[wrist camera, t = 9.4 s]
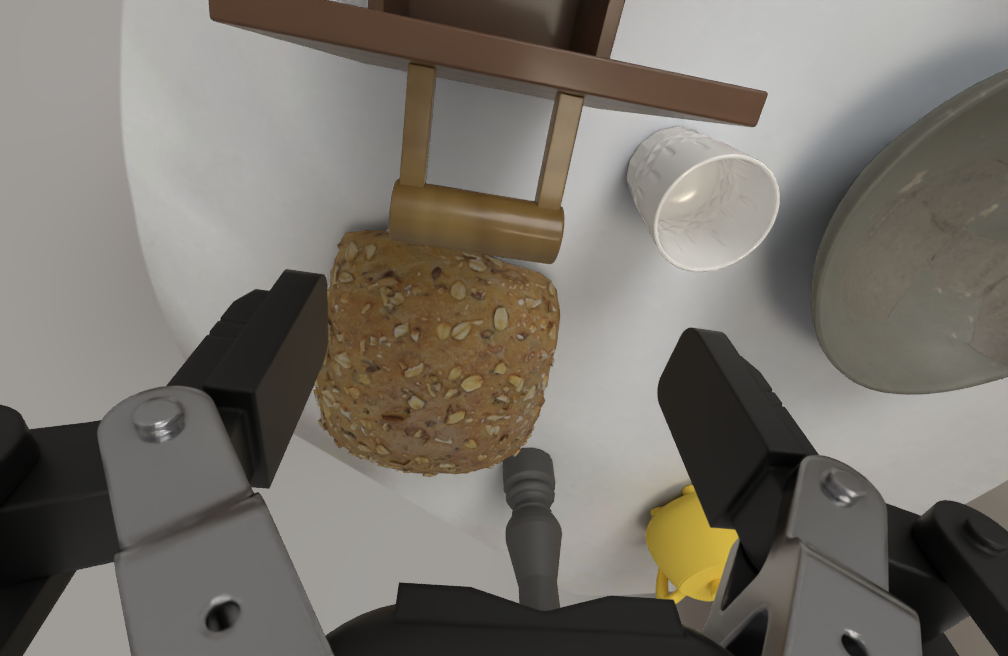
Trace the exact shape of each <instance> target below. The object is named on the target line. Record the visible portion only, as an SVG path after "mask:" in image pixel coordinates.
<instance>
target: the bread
mask: <svg viewBox="0 0 1008 656" xmlns="http://www.w3.org/2000/svg"><path fill="white" fill-rule="evenodd" d="M386 230H387V231H370V230H365V231H359V232H348V233H345V235H344V237H343V238H342V240H341V242H340V243H339V244H338V245H337V246H338V248H339V252H338V254H337V257H336V259H335V262H334V267H333V268H332V270H331V271H330V288H329V289H327V300H328V347H327V352H326V356H325V360H324V363H323V365H322V367H321V370H320V372H319V374H318V377H317V379H316V381H315V384H314V386H316V390H314V394H315V398H316V401H317V404H318V406H319V407H320V410H321V419H319V420H318V421H319V424H320V426H321V427H322V429H323V430H324V431H325V430H328V432H329V435H331V436H333V437H334V443H335V444H336V445H337V446H338V448H340V449H341V447H342V446H343V447H345V448H346V449H348V450H350V451H349V453H348V454H352V455H355V456H357V457H358V458H360V459H362V458H363V459H366V460H369V461H371V462H372V463H374V462H376V463H378V466H383V467H386V468H393V469H398V470H397V471H403V473H424V474H423V476H426V477H431V476H436V475H437V474H438V473H451V474H460V473H469V472H471V471H476V470H479V469H483V468H489V469H492V468H493V467H494V465H495V464H500V463H501V462H502V461H503V460H505V459H506V458H508V457H510V456H511V455H513V456H516V455H517V454H518V453H519V452H520V451H521V449H520V447H521V446H524V445H525V444H526V442H527V439H528V438H529V437H531V436H532V435H530V434H531V433H532V431H533V430H534V426H533V425H534V424H535V422H536V420H537V418H538V417H539V413H540V410H541V409H540V408H541V407H542V405H543V404H544V402H545V399H544V390H545V388H546V387H547V384H548V379H549V370H550V366H552V367H553V363H554V359H553V355H554V353H555V349H556V345H557V338H558V329H559V321H560V309H559V304H558V299H557V290H556V288H555V287H554V285H553V283H552V281H550V280H549V279H547V278H546V277H545V276H543V275H542V274H540V273H539V272H536V271H533V270H530V269H527V268H524V267H520V266H515V265H512V264H509V263H506V262H504V261H501V260H498V259H495V258H492V257H490V256H487V255H485V254H478V253H471V252H465V251H458V250H451V249H444V248H438V247H431V246H424V245H418V244H411V243H404V242H398V241H392V240H391V239H390V237H389V228H388V229H386Z"/></svg>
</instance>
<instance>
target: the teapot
mask: <svg viewBox="0 0 1008 656" xmlns="http://www.w3.org/2000/svg"><path fill="white" fill-rule="evenodd" d="M682 493H683V496H682V497H680V498H678V499H675V500H673V501H672V502H670V503H668V504H666V505H665V506H664V507H656V508H654V509H652V510H651V512H650V514H651V515H652V516H653V517H652V519H651V520H650V522H649V524H648V527H647V530H646V534H645V540H646V543H647V546H648V549H649V551H650V553H651V555H652V557H653V559H654V561H655V562H656V564H657V565H658V567H659V569H658V575H657V581H656V598H657V599H672V600H674V601H675V604H676V603H677V602H679V601H680V600H682V599H683V598H684V597H685V596H686V595H687V596H690V597H692V598H695V599H698V600H702V601H714V599H715V596H716V593H717V589H718V586H719V583H720V580H721V577H722V574H723V571H724V567H725V564H726V561H727V558H728V555H729V552H730V549H731V546H732V545H733V544H734V542H735V541H736V540H737V539H738V535H737V532H736V530H734V529H722V528H710V526H709V523H708V521H707V518H706V516H705V514H704V511H703V509H702V506H701V504H700V501H699V499H698V497H697V494H696V492H695V489H694V487H693V485H688V486H686V487H685V488H683V490H682ZM668 579H669V580H670V582H671V583H672V584H673V585H674V586H675V587H676V588H677V590H675V591H674V592H673V593H672V594H670V595H669V592H668Z"/></svg>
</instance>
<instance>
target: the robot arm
mask: <svg viewBox="0 0 1008 656" xmlns="http://www.w3.org/2000/svg"><path fill="white" fill-rule="evenodd" d="M327 347H328V300H327V280H326V277H325V275H324V274H317V273H310V272H303V271H296V270H289V269H286V270H285V271H284V272H283V273H282V274H281V276H280V277H279V279H278V280H277V281H276V283H275V284H274V286H273V287H272V288H271V290H270V291H265V290H258V289H255V290H253V291H252V292H250V293H248V294H246V295H244V296H243V297H241V298H239V299H237V300H236V301H234V302H233V303H232V304H231V306H230V307H229V308H228V309H227V311H226V312H225V313H224V314H223V316H222V317H221V320H220V321H218V322H217V323H216V324H215V326H214V327H213V328H212V329H211V331H210V334H209V335H207V336H206V337H205V338H204V339H203V341H202V342H201V343H200V344H199V346H198V347H197V348H196V349H195V351H194V352H193V353H192V354H191V356H190V357H189V358H188V359H187V361H186V362H185V363H184V364H183V366H182V367H181V368H180V369H179V371H178V372H177V373H176V375H175V376H174V377H173V378H172V379H171V381H170V382H169V383H168V384H167V386H165V387H158V388H153V389H149V390H146V391H143V392H140V393H137V394H135V395H133V396H131V397H128V398H127V399H125V400H123V401H121V402H120V403H118V404H117V405H116V406H114V407H113V408H112V409H111V410H110V411H109V412H108V413H107V414H106V415H105V416H104V418H103V419H102V420H100V421H94V422H87V423H79V424H70V425H62V426H54V427H45V428H37V429H29V428H28V427H27V425H26V423H25V421H24V419H23V418H22V416H21V414H20V413H19V412H17V411H16V410H14V409H12V408H10V407H7V406H3V405H0V656H23V654H24V653H25V651H26V649H27V648H28V646H29V645H30V643H31V642H32V640H33V638H34V637H35V635H36V634H37V632H38V631H39V629H40V627H41V626H42V624H43V623H44V621H45V620H46V618H47V616H48V615H49V613H50V612H51V610H52V608H53V607H54V605H55V604H56V602H57V600H58V599H59V597H60V596H61V594H62V593H63V591H64V589H65V588H66V586H67V585H68V583H69V581H70V580H71V578H72V577H73V575H74V573H75V572H76V570H79V569H83V568H88V567H92V566H97V565H102V564H107V563H111V562H114V563H115V572H116V577H117V582H118V588H119V593H120V598H121V604H122V609H123V614H124V619H125V625H126V630H127V635H128V641H129V646H130V651H131V656H959V655H958V654H957V652H956V651H955V649H954V647H953V646H952V644H951V643H950V642H949V640H948V638H947V637H946V635H945V634H944V632H945V631H946V630H948V629H950V628H951V627H953V626H954V625H956V624H958V623H959V622H960V621H962V620H964V619H965V618H967V617H969V616H971V617H972V619H973V620H974V621H975V623H976V624H977V626H978V627H979V628H980V630H981V631H982V633H983V634H984V635H985V637H986V638H987V639H988V641H989V642H990V644H991V645H992V646H993V648H994V649H995V650H996V652H997V653H998V655H999V656H1008V531H1006V530H1005V529H1004V528H1003V527H1002V526H1000V525H999V524H998V523H996V522H995V521H993V520H992V519H991V518H989V517H988V516H986V515H984V514H982V513H981V512H979V511H977V510H975V509H973V508H971V507H969V506H967V505H964V504H961V503H958V502H954V501H947V500H944V501H939V502H937V503H936V504H935V505H933V506H932V507H931V508H930V509H929V510H928V511H926V512H925V513H924V514H923V515H922V516H920V515H917V514H914V513H912V512H909V511H906V510H903V509H900V508H898V507H895V506H892V505H889V504H887V503H885V501H884V499H883V498H882V496H881V494H880V493H879V492H878V490H877V489H876V488H875V487H874V486H873V484H872V483H871V482H870V481H868V480H867V479H866V478H865V477H864V476H863V475H861V474H860V473H859V472H857V471H856V470H855V469H853V468H852V467H850V466H848V465H846V464H845V463H842V462H840V461H838V460H836V459H833V458H830V457H827V456H821V455H819V454H818V453H817V452H816V450H815V449H814V447H813V446H812V445H811V443H810V442H809V440H808V439H807V438H806V436H805V435H804V433H803V432H802V430H801V429H800V428H799V426H798V425H797V423H796V422H795V421H794V419H793V418H792V416H791V415H790V414H789V412H788V411H787V409H786V408H785V407H782V402H781V401H780V399H779V398H778V397H777V395H776V394H775V393H774V392H772V388H771V387H770V385H769V384H768V383H767V381H766V380H765V378H764V377H763V375H762V374H761V373H760V372H759V371H758V370H757V369H756V368H755V367H754V366H752V365H751V364H750V363H749V362H748V361H746V360H745V359H744V358H743V357H742V356H740V355H739V353H738V352H737V350H736V349H735V348H734V346H733V345H732V343H731V342H730V340H729V339H728V337H727V336H726V335H725V334H724V333H723V332H719V331H712V330H705V329H698V328H688V329H686V330H685V331H684V332H683V333H682V335H681V337H680V339H679V341H678V343H677V345H676V347H675V349H674V351H673V353H672V355H671V357H670V359H669V361H668V363H667V365H666V367H665V369H664V371H663V373H662V375H661V377H660V380H659V384H658V401H659V405H660V407H661V410H662V412H663V414H664V417H665V419H666V422H667V424H668V426H669V429H670V431H671V434H672V436H673V439H674V441H675V443H676V446H677V448H678V451H679V453H680V456H681V458H682V460H683V463H684V465H685V468H686V470H687V472H688V475H689V477H690V480H691V482H692V485H693V487H694V489H695V492H696V494H697V497H698V499H699V501H700V504H701V506H702V509H703V511H704V514H705V516H706V518H707V521H708V523H709V526H710V528H722V529H734V530H736V532H737V535H738V539H737V540H736V541H735V542H734V544H733V545H732V546H731V549H730V552H729V555H728V558H727V561H726V564H725V567H724V571H723V574H722V577H721V580H720V583H719V586H718V589H717V593H716V596H715V599H714V602H713V605H712V608H711V612H710V615H709V618H708V620H707V623H706V625H705V627H704V629H703V631H702V633H700V632H698V631H696V630H694V629H692V628H690V627H688V626H685V625H683V624H681V621H680V618H679V615H678V611H677V608H676V605H675V601H674V600H672V599H656V598H640V597H624V596H623V597H622V596H607V597H603V598H599V599H595V600H590V601H586V602H582V603H578V604H574V605H570V606H566V607H562V608H558V609H553V610H548V611H542V610H537V609H534V608H531V607H528V606H525V605H522V604H519V603H516V602H513V601H510V600H507V599H504V598H501V597H499V596H496V595H493V594H490V593H486V592H484V591H481V590H478V589H475V588H472V587H461V586H446V585H430V584H414V583H399V586H398V594H397V600H396V604H394V605H390V606H386V607H382V608H378V609H376V610H372V611H370V612H367V613H364V614H362V615H360V616H358V617H356V618H354V619H352V620H350V621H348V622H346V623H344V624H342V625H341V626H339V627H338V628H336V629H335V630H333V631H332V632H330V633H329V634H327V635H326V636H325V634H324V632H323V630H322V628H321V625H320V623H319V621H318V619H317V616H316V614H315V612H314V610H313V608H312V605H311V603H310V601H309V599H308V596H307V594H306V592H305V590H304V587H303V585H302V583H301V581H300V578H299V577H298V574H297V572H296V570H295V568H294V565H293V563H292V561H291V559H290V556H289V554H288V552H287V549H286V547H285V545H284V543H283V541H282V538H281V536H280V534H279V532H278V529H277V527H276V525H275V523H274V521H273V518H272V516H271V514H270V512H269V509H268V507H267V505H266V503H265V501H264V499H263V498H262V496H261V494H259V493H258V492H257V493H255V494H254V492H253V490H252V488H251V487H256V488H268V489H269V488H270V486H271V483H272V481H273V479H274V476H275V474H276V472H277V470H278V467H279V465H280V463H281V460H282V458H283V456H284V453H285V451H286V449H287V446H288V444H289V441H290V439H291V437H292V435H293V432H294V430H295V428H296V425H297V423H298V421H299V419H300V416H301V414H302V412H303V409H304V407H305V405H306V402H307V400H308V398H309V395H310V393H311V391H312V388H313V386H314V384H315V381H316V379H317V377H318V374H319V372H320V370H321V367H322V365H323V363H324V360H325V356H326V352H327Z"/></svg>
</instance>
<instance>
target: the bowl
mask: <svg viewBox="0 0 1008 656" xmlns="http://www.w3.org/2000/svg"><path fill="white" fill-rule="evenodd" d="M811 307H812V317H813V323H814V328H815V332H816V335H817V338H818V341H819V343H820V346H821V348H822V350H823V352H824V353H825V355H826V356H827V358H828V359H829V360H830V362H831V363H832V364H833V365H834V366H835V367H836V368H837V369H838V370H839V371H840V372H841V373H842V374H843V375H845V376H846V377H847V378H848V379H850V380H852V381H853V382H855V383H857V384H859V385H861V386H864V387H866V388H868V389H871V390H875V391H880V392H885V393H894V394H931V393H940V392H948V391H953V390H959V389H964V388H969V387H973V386H977V385H981V384H984V383H988V382H992V381H995V380H999V379H1003V378H1006V377H1008V69H1006V70H1004V71H1002V72H1000V73H997V74H995V75H993V76H991V77H989V78H987V79H985V80H983V81H981V82H978V83H976V84H975V85H973V86H971V87H970V88H968V89H966V90H964V91H963V92H961V93H959V94H957V95H956V96H954V97H952V98H951V99H949V100H948V101H946V102H944V103H943V104H941V105H940V106H938V107H937V108H935V109H934V110H932V111H931V112H930V113H928V114H927V115H925V116H924V117H923V118H921V119H920V120H919V121H917V122H916V123H915V124H913V125H912V126H911V127H909V128H908V129H907V130H906V131H904V132H903V133H902V134H901V135H899V136H898V137H897V138H896V139H895V140H893V141H892V142H891V143H890V144H889V145H888V146H886V147H885V148H884V149H883V150H882V151H881V152H880V153H879V154H878V155H877V156H876V157H875V158H874V159H873V160H872V161H871V162H870V163H869V164H868V165H867V166H866V167H865V168H864V170H863V171H862V172H861V173H860V174H859V176H858V177H857V178H856V180H855V181H854V183H853V184H852V185H851V187H850V188H849V190H848V191H847V193H846V194H845V196H844V197H843V199H842V200H841V202H840V204H839V205H838V207H837V209H836V210H835V212H834V214H833V216H832V218H831V220H830V222H829V224H828V226H827V229H826V231H825V233H824V236H823V238H822V241H821V244H820V247H819V250H818V253H817V257H816V261H815V265H814V271H813V278H812V288H811Z"/></svg>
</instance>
